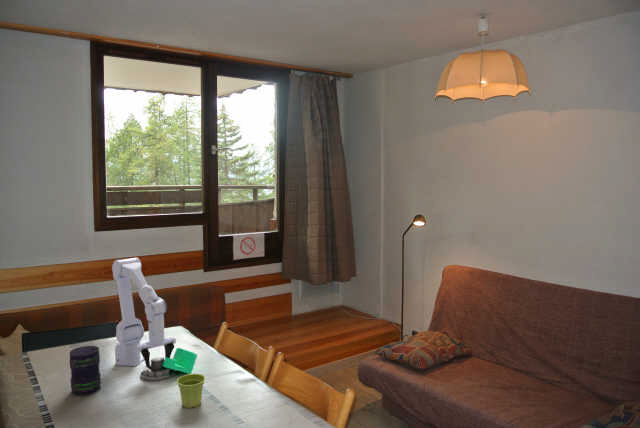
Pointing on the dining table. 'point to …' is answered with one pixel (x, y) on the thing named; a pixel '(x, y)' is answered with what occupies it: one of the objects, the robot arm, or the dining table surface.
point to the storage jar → (85, 370)
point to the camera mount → (181, 361)
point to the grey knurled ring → (156, 374)
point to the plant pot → (191, 389)
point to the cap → (157, 363)
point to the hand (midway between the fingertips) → (157, 364)
